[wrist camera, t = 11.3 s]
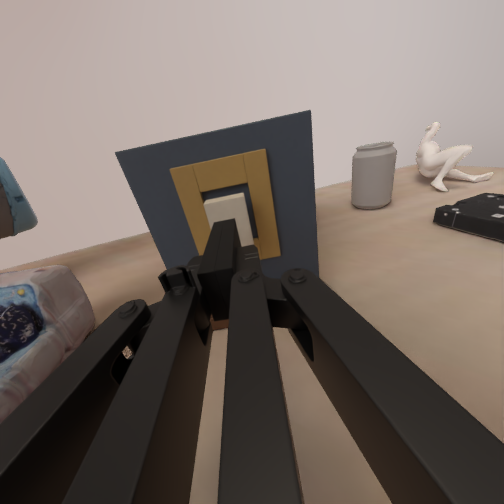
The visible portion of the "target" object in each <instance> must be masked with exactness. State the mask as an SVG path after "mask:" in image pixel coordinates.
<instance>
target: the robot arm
mask: <svg viewBox="0 0 504 504" xmlns="http://www.w3.org/2000/svg"><path fill="white" fill-rule="evenodd" d="M37 223H38V221H37V217H36V215H35V213H34V211H33V209H32V208H31V206H30V204H29V202H28V200H27V199H26V197H25V195H24V193H23V191H22V190H21V188H20V186H19V184H18V183H17V181H16V179H15V178H14V176H13V174H12V172H11V171H10V169H9V167H8V166H7V164H6V162H5V161H4V160H3V159H2V158H1V157H0V239H1V238H5V237H8V236H15V235H17V234H18V233H20V232H23V231H26V230H29V229H32V228H34V227H35V226H36V225H37ZM158 278H159V280H160V282H161V284H162V286H163V288H164V291H165V295H164V297H163V299H162V301H160V302H157V303H155V304H152V305H150V306H147V304H146V302H145V301H144V300H141V299H137V300H132V301H130V302H126V303H125V304H124V305H122V306H120V307H119V308H118V309H116V310H115V311H114V312H113V313H112V314H111V315H110V316H109V317H108V318H107V319H106V320H105V321H104V322H103V323H102V324H101V325H100V326H99V327H98V328H97V329H96V330H95V331H94V332H93V333H92V334H91V335H90V336H89V337H88V338H87V339H86V340H85V341H84V342H83V343H82V344H81V345H80V346H79V347H78V348H77V349H76V350H75V351H74V352H72V353H71V354H70V355H69V356H68V357H67V358H66V359H65V360H64V361H63V362H62V363H61V364H60V365H59V366H58V367H57V368H56V369H55V370H54V371H53V372H52V373H51V374H50V375H49V376H48V377H47V378H46V379H45V380H44V381H43V382H42V383H41V384H40V385H39V386H38V387H37V388H36V389H35V390H34V391H33V392H32V393H31V394H30V395H29V396H28V397H27V398H26V399H25V400H24V401H23V402H22V403H21V404H20V405H19V406H18V407H17V408H16V409H15V410H14V411H13V412H12V413H11V414H10V415H9V416H8V417H6V418H5V419H4V420H3V421H2V422H1V423H0V504H189V500H190V492H191V485H192V478H193V471H194V463H195V456H196V449H197V442H198V434H199V427H200V420H201V413H202V405H203V398H204V391H205V384H206V376H207V369H208V362H209V355H210V347H211V340H212V333H213V328H212V325H211V322H210V318H211V314H212V317H213V319H214V322H215V321H221V320H226V319H229V325H228V341H227V357H226V373H225V389H224V405H223V421H222V437H221V454H220V470H219V486H218V502H217V504H305V503H304V498H303V492H302V487H301V481H300V476H299V470H298V465H297V459H296V454H295V448H294V443H293V437H292V432H291V426H290V421H289V415H288V410H287V404H286V398H285V393H284V387H283V382H282V376H281V371H280V365H279V360H278V354H277V349H276V343H275V338H274V331H273V327H279V328H288V330H289V333H290V334H291V336H292V338H293V339H294V341H295V343H296V344H297V346H298V347H299V349H300V351H301V352H302V354H303V356H304V357H305V359H306V361H307V362H308V364H309V366H310V367H311V369H312V371H313V372H314V374H315V376H316V377H317V379H318V381H319V382H320V384H321V386H322V387H323V389H324V391H325V392H326V394H327V396H328V397H329V399H330V401H331V402H332V404H333V406H334V407H335V409H336V411H337V412H338V414H339V416H340V417H341V419H342V421H343V422H344V424H345V426H346V427H347V429H348V431H349V432H350V434H351V436H352V437H353V439H354V441H355V442H356V444H357V446H358V447H359V449H360V451H361V452H362V454H363V456H364V457H365V459H366V461H367V462H368V464H369V466H370V467H371V469H372V471H373V472H374V474H375V475H376V477H377V479H378V480H379V482H380V484H381V485H382V487H383V489H384V490H385V492H386V494H387V495H388V497H389V499H390V500H391V502H392V504H504V443H502V442H501V441H500V440H499V439H498V438H497V437H496V436H495V435H493V434H492V433H491V432H490V431H489V430H488V429H487V428H486V427H485V426H483V425H482V424H481V423H480V422H479V421H478V420H477V419H476V418H475V417H473V416H472V415H471V414H470V413H469V412H468V411H467V410H466V409H464V408H463V407H462V406H461V405H460V404H459V403H458V402H457V401H456V400H454V399H453V398H452V397H451V396H450V395H449V394H448V393H447V392H445V391H444V390H443V389H442V388H441V387H440V386H439V385H438V384H437V383H435V382H434V381H433V380H432V379H431V378H430V377H429V376H428V375H427V374H425V373H424V372H423V371H422V370H421V369H420V368H419V367H418V366H416V365H415V364H414V363H413V362H412V361H411V360H410V359H409V358H408V357H406V356H405V355H404V354H403V353H402V352H401V351H400V350H399V349H398V348H396V347H395V346H394V345H393V344H392V343H391V342H390V341H389V340H387V339H386V338H385V337H384V336H383V335H382V334H381V333H380V332H379V331H377V330H376V329H375V328H374V327H373V326H372V325H371V324H370V323H369V322H367V321H366V320H365V319H364V318H363V317H362V316H361V315H360V314H358V313H357V312H356V311H355V310H354V309H353V308H352V307H351V306H350V305H348V304H347V303H346V302H345V301H344V300H343V299H342V298H341V297H340V296H338V295H337V294H336V293H335V292H334V291H333V290H332V289H331V288H329V287H328V286H327V285H326V284H325V283H324V282H323V281H322V280H321V279H319V278H318V277H317V276H316V275H315V274H314V273H313V272H311V271H309V270H307V269H303V268H295V269H291V270H288V271H286V272H284V273H283V274H282V275H281V278H280V279H275V278H269V277H267V276H265V275H264V274H263V273H262V268H261V263H260V258H259V252H258V248H257V247H256V246H255V245H248V246H241V242H240V238H239V234H238V229H237V225H236V221H235V218H233V219H228V220H223V221H218V222H214V223H213V226H212V229H211V232H210V235H209V238H208V241H207V244H206V247H205V250H204V253H203V255H200V256H195V257H193V258H192V259H191V260H190V261H189V262H188V264H187V266H185V265H179V266H175V267H172V268H169V269H167V270H165V271H164V272H163V273H161V274H160V275H159V277H158ZM126 346H128V347H129V349H130V350H131V352H132V355H131V356H130V357H129V358H128V359H126V358H125V356H124V355H123V354H122V351H123V350H124V349H125V347H126Z"/></svg>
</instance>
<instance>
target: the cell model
mask: <svg viewBox="0 0 504 504" xmlns="http://www.w3.org/2000/svg"><path fill="white" fill-rule="evenodd" d="M94 324H95V316H94V313H93V309H92V306H91V304H90V301H89V299H88V297H87V295H86V293H85V291H84V289H83V287H82V286H81V284H80V283H79V281H78V280H77V279H76V277H75V275H74V274H73V273H72V272H71V270H70V269H69V268H68V267H67V266H64V265H52V266H47V267H41V268H34V269H28V270H23V271H15V272H7V273H1V274H0V423H1V422H2V421H3V420H4V419H5V418H6V417H8V416H9V415H10V414H11V413H12V412H13V411H14V410H15V409H16V408H17V407H18V406H19V405H20V404H21V403H22V402H23V401H24V400H25V399H26V398H27V397H28V396H29V395H30V394H31V393H32V392H33V391H34V390H35V389H36V388H37V387H38V386H39V385H40V384H41V383H42V382H43V381H44V380H45V379H46V378H47V377H48V376H49V375H50V374H51V373H52V372H53V371H54V370H55V369H56V368H57V367H58V366H59V365H60V364H61V363H62V362H63V361H64V360H65V359H66V358H67V357H68V356H69V355H70V354H71V353H72V352H74V351H75V350H76V349H77V348H78V347H79V346H80V345H81V344H82V343H83V341H84V339H85V337H86V336H87V334H88V333H89V332H90V331H91V330H92V329H93V327H94Z"/></svg>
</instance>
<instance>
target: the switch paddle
mask: <svg viewBox="0 0 504 504" xmlns="http://www.w3.org/2000/svg"><path fill="white" fill-rule="evenodd" d="M203 205H204V208H205V212H206V215H207V218H208V222H209V225H210V228H211V229H212V226H213V223H214V222H218V221H223V220H228V219H233V218H235V221H236V225H237V229H238V234H239V238H240V242H241V246H248V245H254V241H253V236H252V231H251V226H250V221H249V216H248V211H247V206H246V202H245V197H244V193H238V194H233V195H228V196H224V197H219V198H214V199H209V200H206V201H205V203H204V204H203Z"/></svg>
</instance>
